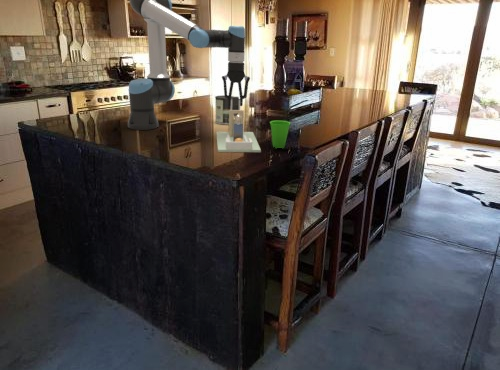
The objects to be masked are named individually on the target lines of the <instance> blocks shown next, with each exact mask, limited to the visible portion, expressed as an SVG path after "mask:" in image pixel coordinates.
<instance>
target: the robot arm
mask: <svg viewBox="0 0 500 370" xmlns="http://www.w3.org/2000/svg"><path fill="white" fill-rule="evenodd" d="M129 4H130V8H132V10H133V12H134V13H136V14H138V15H139V16H142V17H143V20H144V21H145V22H146V26H147V29H146V30H147V43H148V46H147V47H148V63H149V73H148V74H147V76H146V78H136V79H132V80H131V81H129V83H128V98H129V108H130V113H129V117H128V119H127V120H128V121H127V128H128V129H131V130H137V131H143V130H144V131H146V130H154V129H157V127H158V128H159V126H160V125H159V120H158V117H157V116H156V112H155V105H156V104H160V103H167V102H169V101H170V100H172V98H173V97H174V95H175V91H176V89H175V85H174V83H173V81H172V80H171V76H170V75H169V74H168V71H167V68H168V67H167V48H166V47H167V46H166V45H167V43H166V29H168V30H170V31H171V32H173V33H174V34H177V35H178V36H180V37H181V38H183V39H186V41H188V42H189V43H190V44H191V46H192V47H194V48H197V49H204V48H205V49H206V48H221V49H223V48H224V49H226V48H227V50H228V51H227V60H228V63H227V73H226V74H225V75H222V76H221V78H222V81H223V92H224V93H223V94H224V95H223V96H225V98H228V105H229V106H230V110H232V99H231V96H233V95H232V94H233V89H234V88H233V87H234V84H235V83H237V85H238V95H239V110H241V107H243V102H244V101H243V100H244V99H246V98H247V96H248V88H249V82H250V79H251V77H250V76H247V75H246V74H245V63H244V62H245V55H246V54H245V52H246V51H245V48H246V47H245V45H246V29H245V27H244V26H243V25H242V26H241V25H240V26H239V25H229V26H228V29H227V30H225V29H224V30H222V29H221V30H220V29H206V28H202V27H201V26H199V25H197V24H196V23H194V22H193V21H190V20H189V19H187V18H186V17H184V16H182V15H180V14H178V13H176V12H175V11H173V10H172V9H173V4H172V0H129ZM227 80H229V81H230V85H229V90H228V88H227ZM243 80H245V82H244V88H242V81H243ZM242 89H244V90H242ZM228 91H229V92H228Z"/></svg>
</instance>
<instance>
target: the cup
mask: <svg viewBox="0 0 500 370" xmlns="http://www.w3.org/2000/svg"><path fill="white" fill-rule="evenodd" d="M269 124H270V129H271V130H270V133H271V141H272V142H271V143H272V148H274V147H275V148H274V149H277V148H282V149H285V147H286V142H287V139H288V134H289V130H290V125H291V122H290V121H288V120H271V121H269Z"/></svg>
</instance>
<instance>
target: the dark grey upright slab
mask: <svg viewBox="0 0 500 370" xmlns="http://www.w3.org/2000/svg"><path fill="white" fill-rule="evenodd" d="M239 99H240V96H233V97H232V110H239ZM234 119H235V121H236V124H234V129H233V142H234V141H235V139H237V138H241V139H242V140H243V132H244V123H243V124H240V121H241V120H242V117H241V115H239V113H234Z"/></svg>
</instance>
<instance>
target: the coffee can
mask: <svg viewBox="0 0 500 370" xmlns="http://www.w3.org/2000/svg"><path fill="white" fill-rule="evenodd" d="M232 97H234V95H231V99H232ZM214 98H215V124H218V125H229V110H230V106H229V105H228V98H225V96H224V95H216V96H214Z"/></svg>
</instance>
